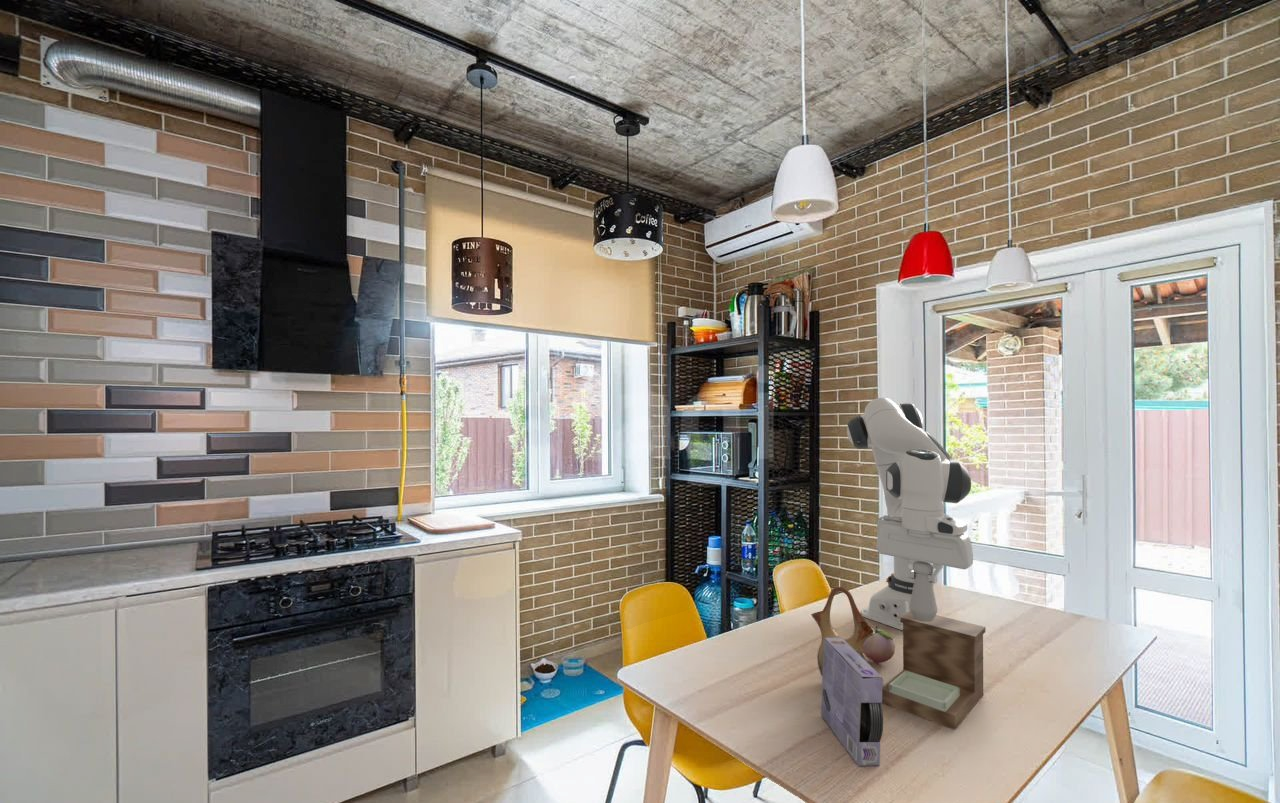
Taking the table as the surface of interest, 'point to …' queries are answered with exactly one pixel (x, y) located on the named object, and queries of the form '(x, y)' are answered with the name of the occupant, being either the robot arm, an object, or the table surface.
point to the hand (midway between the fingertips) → (922, 580)
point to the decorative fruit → (879, 646)
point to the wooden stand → (942, 665)
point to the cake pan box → (852, 701)
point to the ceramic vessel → (827, 631)
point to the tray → (924, 690)
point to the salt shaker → (923, 593)
